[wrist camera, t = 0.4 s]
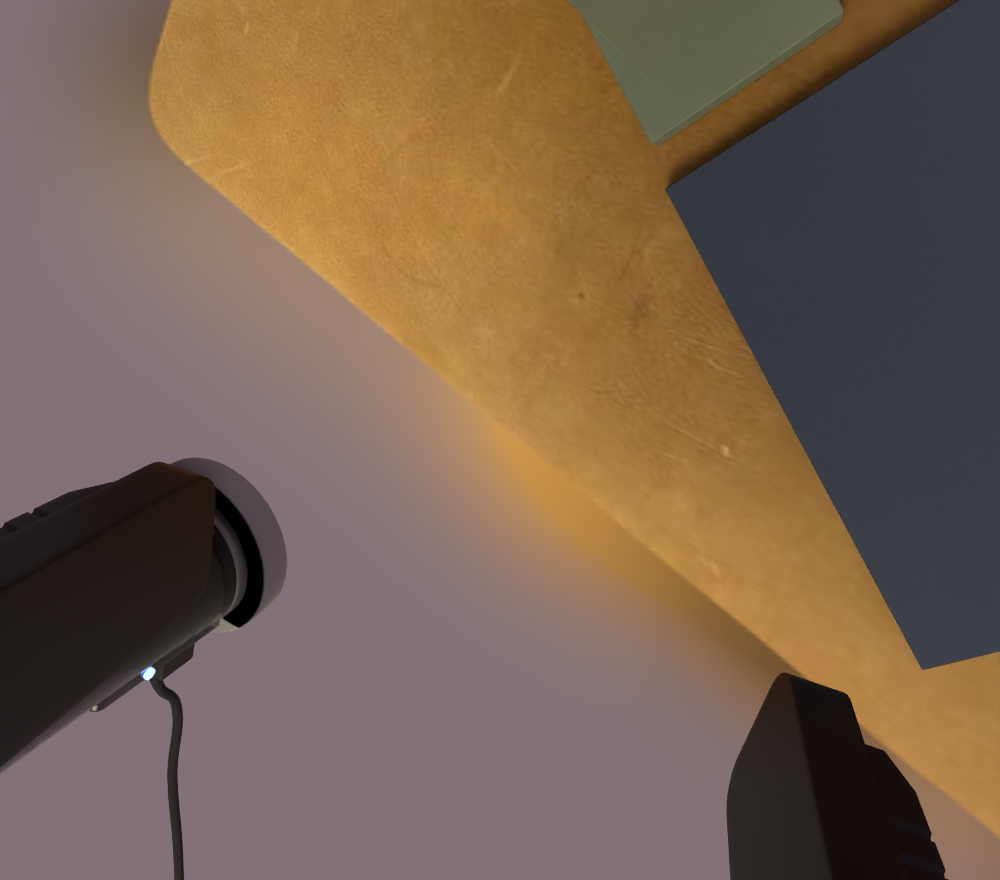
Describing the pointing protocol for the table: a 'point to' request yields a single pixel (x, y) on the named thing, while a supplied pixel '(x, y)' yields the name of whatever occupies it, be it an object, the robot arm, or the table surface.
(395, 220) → the table surface
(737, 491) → the table surface
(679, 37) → the stand
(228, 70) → the table surface
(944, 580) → the mat
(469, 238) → the table surface
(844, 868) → the robot arm
